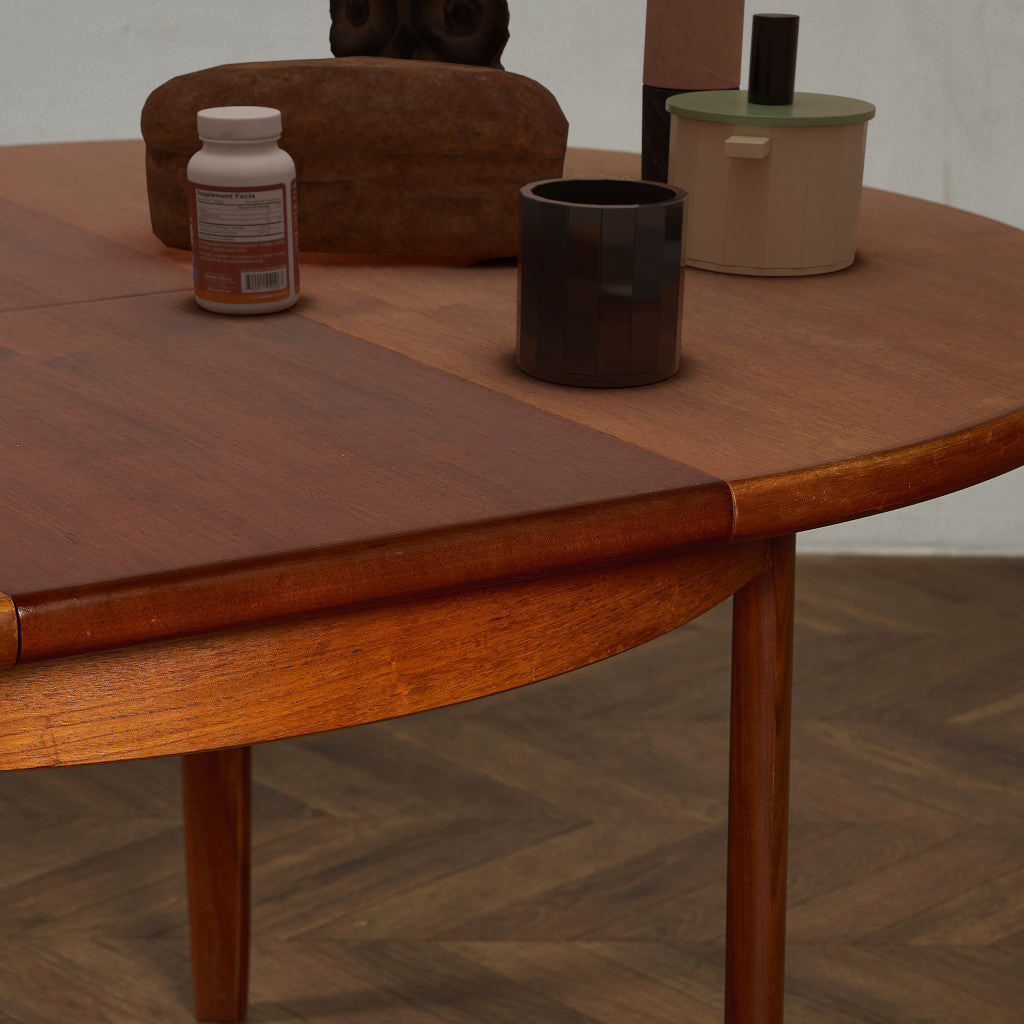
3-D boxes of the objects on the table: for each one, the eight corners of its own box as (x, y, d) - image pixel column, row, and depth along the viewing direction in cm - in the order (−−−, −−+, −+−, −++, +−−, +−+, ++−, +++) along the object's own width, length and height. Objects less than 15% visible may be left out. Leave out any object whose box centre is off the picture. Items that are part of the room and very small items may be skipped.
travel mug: (639, 202, 128) (651, -69, 121) (636, 184, 135) (647, -72, 128) (737, 204, 128) (755, -67, 120) (728, 186, 135) (745, -70, 128)
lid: (884, 114, 111) (894, 11, 109) (861, 142, 99) (871, 27, 97) (689, 103, 115) (694, 4, 113) (643, 128, 103) (648, 18, 101)
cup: (708, 362, 86) (719, 190, 83) (618, 398, 80) (625, 214, 76) (579, 334, 91) (584, 171, 87) (484, 366, 84) (486, 192, 81)
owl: (525, 196, 129) (530, -72, 122) (380, 209, 123) (375, -72, 116) (453, 172, 139) (454, -77, 132) (316, 182, 134) (308, -77, 126)
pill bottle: (230, 287, 100) (221, 101, 96) (319, 297, 98) (314, 108, 93) (173, 309, 94) (161, 114, 90) (266, 321, 92) (258, 121, 88)
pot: (868, 236, 117) (881, 101, 113) (835, 292, 101) (849, 136, 97) (695, 223, 120) (702, 91, 117) (637, 275, 104) (643, 124, 101)
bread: (172, 223, 118) (161, 47, 113) (563, 229, 118) (567, 53, 113) (129, 265, 105) (115, 69, 100) (568, 272, 105) (573, 76, 100)
